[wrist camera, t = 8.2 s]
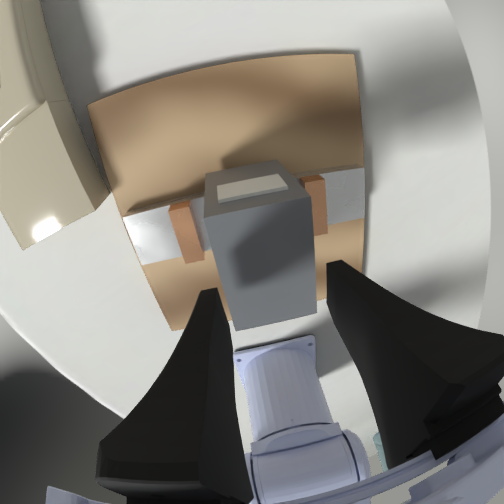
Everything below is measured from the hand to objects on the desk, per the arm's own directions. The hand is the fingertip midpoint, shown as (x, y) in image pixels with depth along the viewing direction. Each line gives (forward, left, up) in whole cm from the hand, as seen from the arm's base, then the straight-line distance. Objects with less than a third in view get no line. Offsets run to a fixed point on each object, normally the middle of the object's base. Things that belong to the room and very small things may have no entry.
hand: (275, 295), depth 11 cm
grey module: (0, 0, -7) cm, 7 cm away
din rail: (0, 0, -8) cm, 8 cm away
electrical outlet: (+11, +13, -10) cm, 20 cm away
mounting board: (0, 0, -9) cm, 9 cm away
